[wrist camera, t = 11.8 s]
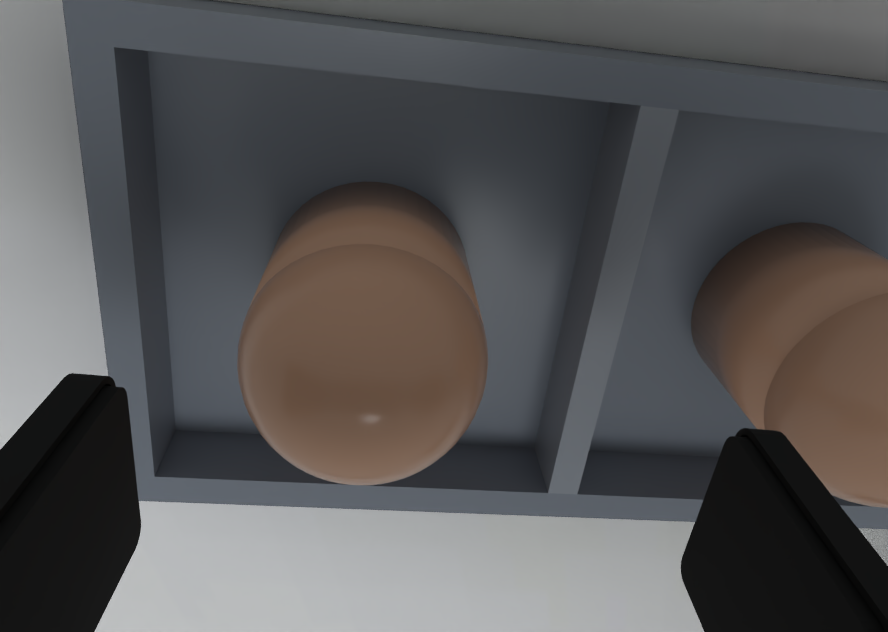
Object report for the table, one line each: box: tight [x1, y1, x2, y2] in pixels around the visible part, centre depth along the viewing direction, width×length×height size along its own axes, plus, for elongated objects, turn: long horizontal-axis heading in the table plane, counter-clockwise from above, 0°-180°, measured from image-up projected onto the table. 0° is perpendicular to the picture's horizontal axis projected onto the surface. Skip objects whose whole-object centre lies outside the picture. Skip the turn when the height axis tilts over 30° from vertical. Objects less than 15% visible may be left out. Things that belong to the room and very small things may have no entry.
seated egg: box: [691, 222, 888, 508], centre depth 15 cm, size 5×5×6 cm
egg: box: [237, 182, 488, 485], centre depth 14 cm, size 5×5×6 cm
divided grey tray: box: [62, 0, 888, 529], centre depth 17 cm, size 22×12×2 cm, turn 83°
